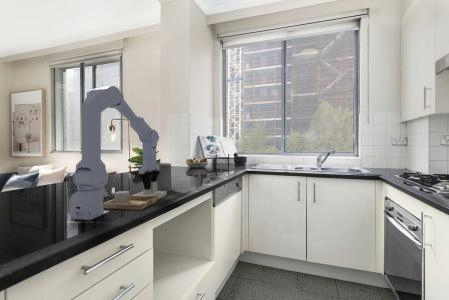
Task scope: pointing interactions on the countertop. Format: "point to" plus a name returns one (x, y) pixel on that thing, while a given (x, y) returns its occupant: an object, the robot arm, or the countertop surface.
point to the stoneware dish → (158, 193)
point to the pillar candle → (164, 177)
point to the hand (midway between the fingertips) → (150, 188)
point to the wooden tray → (132, 203)
